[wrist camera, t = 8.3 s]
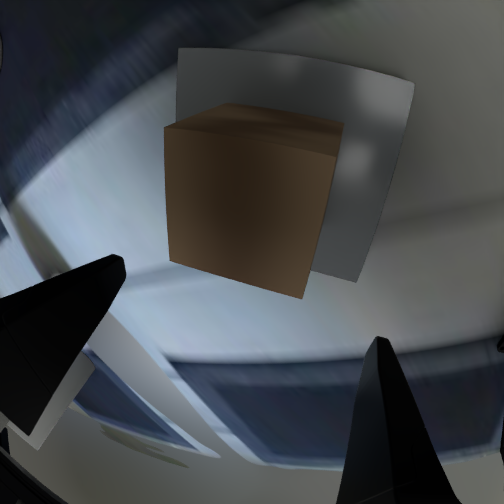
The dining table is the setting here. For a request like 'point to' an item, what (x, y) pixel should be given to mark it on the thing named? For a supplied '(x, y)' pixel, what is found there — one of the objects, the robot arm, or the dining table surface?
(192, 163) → the walnut cube
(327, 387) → the dining table surface
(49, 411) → the white pillar candles
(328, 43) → the dining table surface
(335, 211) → the slate slab
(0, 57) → the mug
